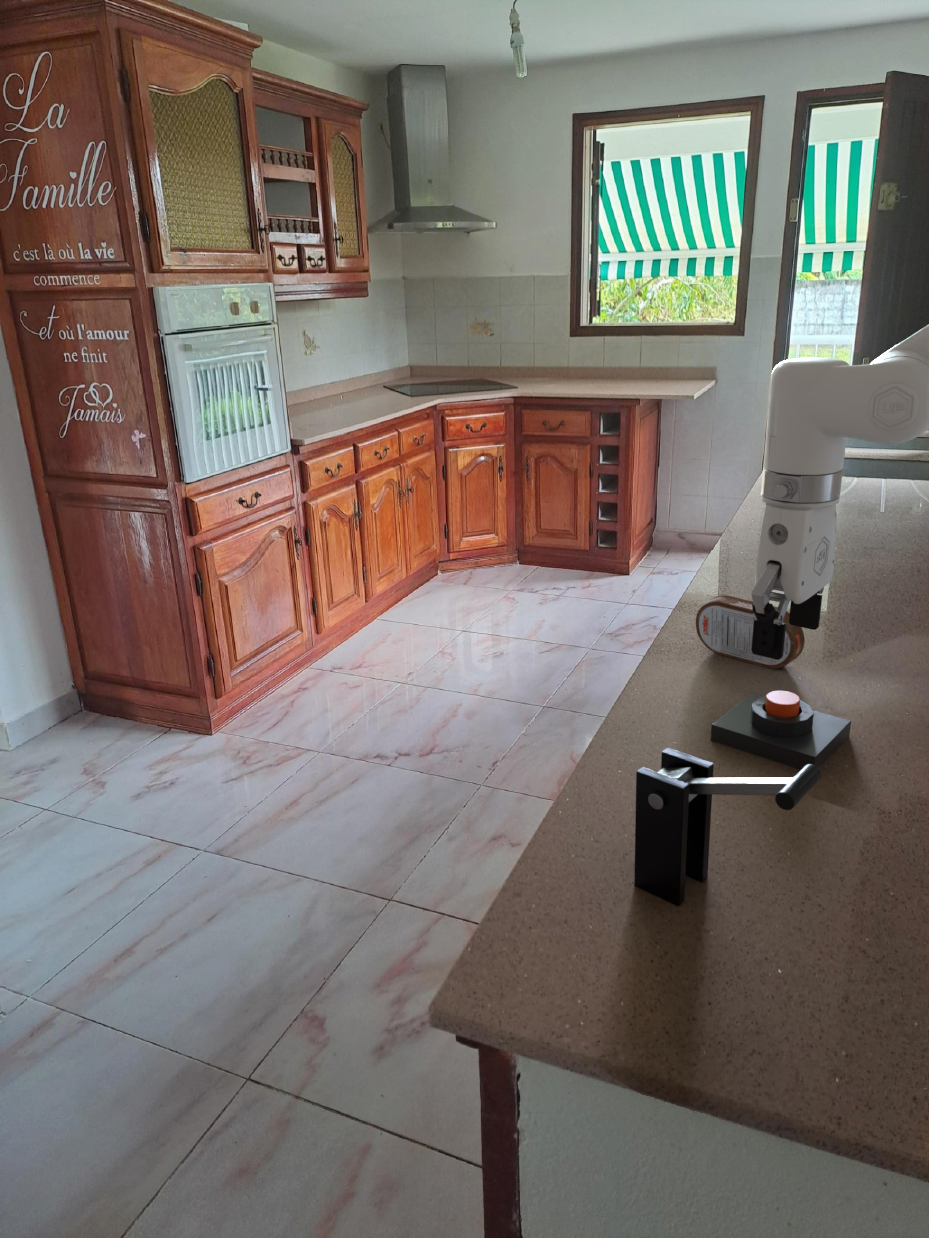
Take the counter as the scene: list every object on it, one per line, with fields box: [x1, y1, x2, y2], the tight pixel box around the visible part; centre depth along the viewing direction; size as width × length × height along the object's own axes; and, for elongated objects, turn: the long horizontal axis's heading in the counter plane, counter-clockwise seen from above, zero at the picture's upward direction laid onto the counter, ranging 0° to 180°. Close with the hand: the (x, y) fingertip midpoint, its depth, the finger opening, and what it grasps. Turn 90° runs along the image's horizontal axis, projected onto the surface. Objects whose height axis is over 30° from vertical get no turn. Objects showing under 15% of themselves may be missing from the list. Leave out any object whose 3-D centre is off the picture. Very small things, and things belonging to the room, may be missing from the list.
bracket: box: [633, 747, 715, 907], centre depth 75 cm, size 11×9×13 cm
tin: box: [695, 594, 806, 670], centre depth 120 cm, size 15×3×8 cm, turn 45°
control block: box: [710, 692, 852, 771], centre depth 100 cm, size 12×10×4 cm
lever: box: [656, 764, 823, 811], centre depth 70 cm, size 13×5×2 cm, turn 47°
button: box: [765, 690, 801, 718], centre depth 99 cm, size 4×4×2 cm
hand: (785, 640), depth 95 cm, fingers open, 9 cm apart
